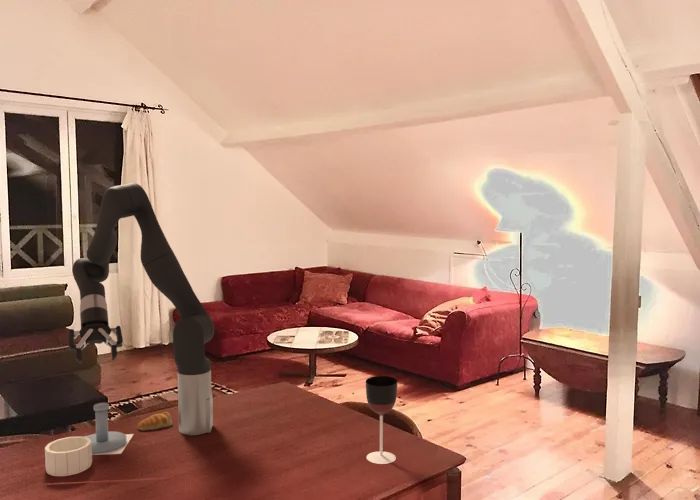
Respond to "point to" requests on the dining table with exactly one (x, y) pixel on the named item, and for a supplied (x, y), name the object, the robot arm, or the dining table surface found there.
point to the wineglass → (381, 410)
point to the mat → (120, 450)
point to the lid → (105, 432)
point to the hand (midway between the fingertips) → (97, 360)
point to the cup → (68, 456)
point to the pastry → (155, 421)
